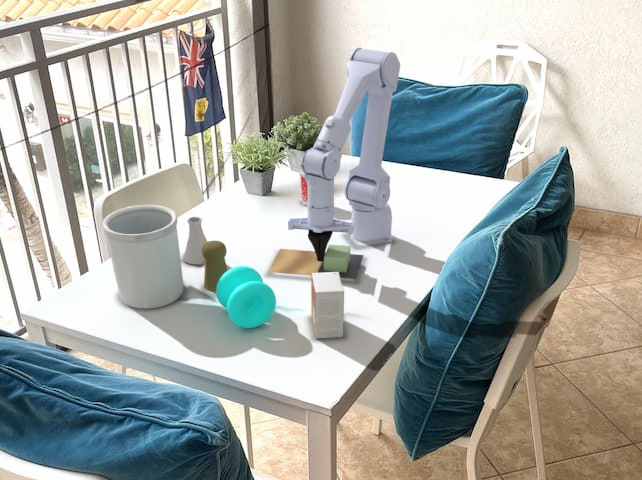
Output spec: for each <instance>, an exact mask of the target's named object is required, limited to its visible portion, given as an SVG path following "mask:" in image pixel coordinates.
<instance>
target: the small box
mask: <svg viewBox="0 0 642 480" xmlns="http://www.w3.org/2000/svg"><path fill="white" fill-rule="evenodd" d="M310 277H311V278H310V285H311V286H310V289H311V290H310V295H311V296H310V300H311V301H310V302H311V303H310V304H311V306H310V307H311V309H310V312H311V313H310V314H311V315H310V317H311V321H312V326H313V334H314V338H315V340H319V339H336V338H337V339H338V338H343V337H344V315H345V314H344V311H345V289H344V286H343V283H342V280H341V279H342V278H340V275H339V272H323V273H311V275H310Z"/></svg>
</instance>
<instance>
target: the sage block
mask: <svg viewBox="0 0 642 480" xmlns="http://www.w3.org/2000/svg"><path fill="white" fill-rule="evenodd" d="M325 253H326V254H325V256H324V271H334V272H346V271H347V268H348V265H349V262H350V254H351V246H350V245H341V244H340V245H339V244H328V245H327V248H326V251H325Z"/></svg>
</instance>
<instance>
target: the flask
mask: <svg viewBox="0 0 642 480" xmlns="http://www.w3.org/2000/svg"><path fill="white" fill-rule="evenodd" d="M202 221H203V218H202V217H199V216H191V217H189V218H188V219H187V221H186V222H187V224H188V228H189V229H188V238H187V242H186V246H185V250H184V253H183V256H182V262H185V263H187V264H189V265H205V258H204V257H203V255H202V247H203V245H204V244H205V243H207V242H208V240H207V237H206V236H205V234H204V231H203V226H202Z"/></svg>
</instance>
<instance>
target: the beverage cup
mask: <svg viewBox="0 0 642 480" xmlns="http://www.w3.org/2000/svg"><path fill="white" fill-rule="evenodd" d="M298 173H299V178H300V188H301V201H302V205H304V206H307V207H308V189H307V182H306V181H305V174H304V173H303V171H302V168H301V169H300V170H298Z"/></svg>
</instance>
